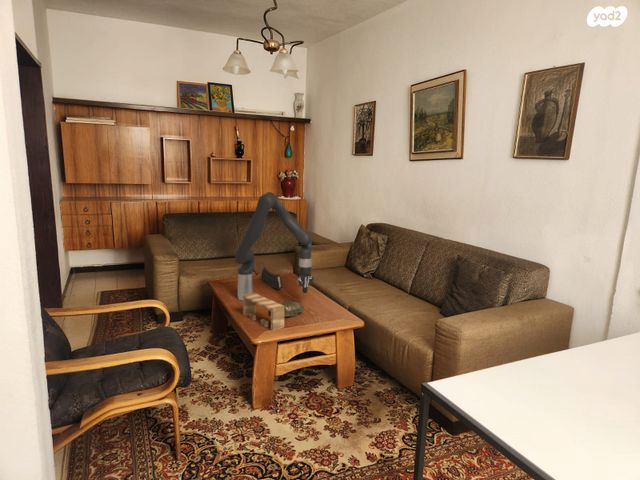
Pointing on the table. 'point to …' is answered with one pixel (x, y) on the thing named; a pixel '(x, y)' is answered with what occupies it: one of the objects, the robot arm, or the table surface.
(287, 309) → the turtle shell
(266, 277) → the magazine
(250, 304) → the oak overhang
